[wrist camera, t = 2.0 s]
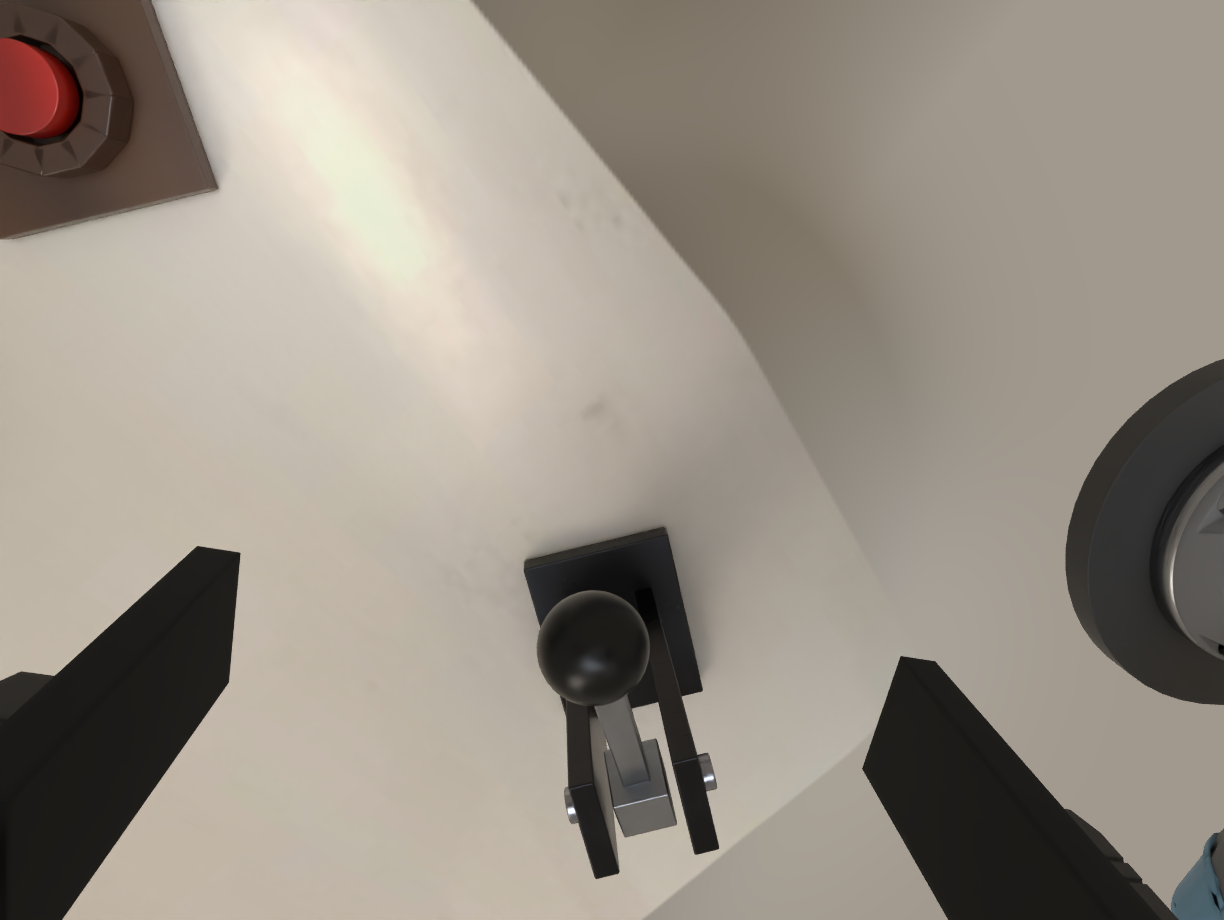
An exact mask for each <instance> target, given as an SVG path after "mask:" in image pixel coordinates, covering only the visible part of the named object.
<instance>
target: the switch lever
mask: <svg viewBox="0 0 1224 920" xmlns="http://www.w3.org/2000/svg"><path fill="white" fill-rule="evenodd" d="M649 653H650V643H649V636H648V632H647V629H646V626H645V624H644V622H643V620H642V618H641V616H640V615H639V613H638V612H637V611H636V610H635V609H634V608H633V607H632V606H631V605H630V604H629V603H628V602H627V601H625V600H624V599H622V598H621V597H619V596H617V595H614V594H612V593H609V592H605V591H595V590H591V591H583V592H579V593H576V594H573V595H571V596H569V597H566V598H565V599H563V600H562V601H560V602H559V603H558V604H557V605H556V606H555V607H554V608H553V609H552V610H551V611H550V612H549V614H548V615H547V616H546V618H545V620H544V622H543V624H542V626H541V628H540V631H539V635H538V641H537V657H538V663H539V666H540V669H541V672H542V674H543V676H544V677H545V679H546V681H547V683H548V684H549V685H550V686H551V687H552V689H553V690H554V691H555V692H557V693H558V694H559V695H560V696H562V697H563V698H565V699H567V700H568V701H570V702H573V703H576V704H579V705H583V706H594V707H595V709H596V712H597V715H598V718H599V720H600V723H601V726H602V729H603V731H604V734H605V737H606V740H607V742H608V745H609V748H610V750H606V751H604V757H605V764H606V770H607V776H608V782H609V788H610V794H611V800H612V806H613V809H614V812H615V814H616V817H617V819H618V822H619V824H620V827H621V829H622V832H623V834H624V836H625V837H630V836H634V835H638V834H642V833H646V832H650V831H654V830H658V829H662V828H667V827H671V826H675V825H677V820H676V816H675V811H674V807H673V802H672V798H671V793H670V789H669V784H668V780H667V775H666V771H665V767H664V764H663V760H662V757H661V753H660V749H659V746H658V742H657V740H656V739H651V740H647V741H643V742H641V738H640V735H639V732H638V729H637V725H636V722H635V719H634V716H633V712H632V709H631V706H630V703H629V699H628V696H627V694H628V693H630V692H631V691H632V690H633V689H634V688H635V687H636V685H637V684H638V683H639V681H640V680H641V678H642V676H643V674H644V672H645V670H646V667H647V664H648V660H649Z"/></svg>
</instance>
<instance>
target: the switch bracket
mask: <svg viewBox="0 0 1224 920" xmlns="http://www.w3.org/2000/svg"><path fill="white" fill-rule="evenodd" d="M524 573H525V577H526V580H527V583H528V587H529V590H530V594H531V597H532V601H533V604H534V608H535V611H536V615H537V618H538V621H539V625H540V628H541V626H542V624H543V622H544V620H545V618H546V616H547V615H548V614H549V612H550V611H551V610H552V609H553V608H554V607H555V606H556V605H557V604H558V603H559V602H560V601H562V600H563V599H565V598H566V597H569V596H571V595H573V594H576V593H579V592H583V591H591V590H595V591H605V592H609V593H612V594H614V595H617V596H619V597H621V598H622V599H624V600H625V601H627V602H628V603H629V604H630V605H631V606H632V607H633V608H634V609H635V610H636V611H637V612H638V613H639V615H640V616H641V618H642V620H643V622H644V624H645V626H646V629H647V632H648V636H649V643H650V653H649V660H648V664H647V667H646V670H645V672H644V674H643V676H642V678H641V680H640V681H639V683H638V684H637V685H636V687H635V688H634V689H633V690H632V691H631V692H630V693H628V694H627V696H628V699H629V703H630V706H631V709H632V708H636V707H640V706H644V705H648V704H652V703H656V702H659V707H660V711H661V716H662V721H663V725H664V730H665V734H666V739H667V743H668V748H669V752H670V757H671V761H672V766H673V770H674V774H675V778H676V782H677V786H678V790H679V794H680V798H681V802H682V806H683V810H684V814H685V818H686V822H687V826H688V830H689V834H690V838H691V842H692V846H693V850H694V854H695V855H697V854H701V853H705V852H710V851H714V850H718V849H719V844H718V840H717V836H716V832H715V827H714V823H713V819H712V815H711V810H710V806H709V802H708V798H707V793H706V791H710V790H714V789H717V784H716V779H715V775H714V771H713V767H712V763H711V760H710V756H709V754H708V753H704V754H700V755H697V752H696V748H695V745H694V741H693V737H692V734H691V730H690V726H689V723H688V719H687V715H686V712H685V708H684V704H683V700H682V697H681V696H685V695H689V694H693V693H697V692H701V691H703V688H702V683H701V679H700V675H699V670H698V666H697V661H696V657H695V653H694V648H693V644H692V639H691V635H690V631H689V626H688V622H687V617H686V613H685V609H684V604H683V600H682V595H681V591H680V587H679V582H678V578H677V573H676V569H675V565H674V560H673V556H672V551H671V547H670V543H669V538H668V534H667V532H666V529H665V528H664V527H663V528H659V529H655V530H651V531H647V532H643V533H638V534H634V535H630V536H626V537H622V538H618V539H614V540H610V541H606V542H601V543H597V544H593V545H589V546H585V547H581V548H577V549H573V550H569V551H564V552H560V553H556V554H552V555H548V556H544V557H540V558H536V559H532V560H527V561H525V562H524ZM560 698H561V701H562V704H563V708H564V711H565V715H566V723H567V760H568V787H565V789H564V797H565V804H566V809H567V814H568V817H569V820H570V822H571V824H575V823H579V827H580V830H581V833H582V837H583V840H584V843H585V847H586V850H587V853H588V857H589V860H590V864H591V867H592V870H593V874H594V877H595V878H596V879H598V878H603V877H607V876H611V875H615V874H618V873H619V862H618V852H617V842H616V833H615V823H614V813H613V806H612V800H611V794H610V788H609V782H608V776H607V770H606V764H605V757H604V751H606V750H607V745H606V737H605V734H604V731H603V729H602V726H601V723H600V720H599V718H598V715H597V712H596V709H595V707H594V706H583V705H579V704H576V703H573V702H570V701H568V700H567V699H565V698H563V697H562V696H560Z"/></svg>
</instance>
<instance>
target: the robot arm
mask: <svg viewBox="0 0 1224 920" xmlns="http://www.w3.org/2000/svg"><path fill="white" fill-rule="evenodd" d="M239 564H240V553H238V552H232V551H226V550H219V549H213V548H206V547H200V546H197V547H196V548H195V549H194V550H193V551H191V552H190V553H189V554H188V555H187V556H186V557H185V558H184V559H183V560H182V561H180V562H179V563H178V564H177V565H176V566H175V567H174V568H173V569H172V570H171V571H169V572H168V573H167V574H166V575H165V576H164V577H163V578H162V579H161V580H160V581H158V582H157V583H156V584H155V585H154V586H153V587H152V588H151V589H150V590H149V591H148V592H146V593H145V594H144V595H143V596H142V597H141V598H140V599H139V600H138V601H137V602H135V603H134V604H133V605H132V606H131V607H130V608H129V609H128V610H127V611H126V612H124V613H123V614H122V615H121V616H120V617H119V618H118V619H117V620H116V621H115V622H114V623H112V624H111V625H110V626H109V627H108V628H107V629H106V630H105V631H104V632H103V633H101V634H100V635H99V636H98V637H97V638H96V639H95V640H94V641H93V642H92V643H90V644H89V645H88V646H87V647H86V648H85V649H84V650H83V651H82V652H81V653H80V654H78V655H77V656H76V657H75V658H74V659H73V660H72V661H71V662H70V663H69V664H67V665H66V666H65V667H64V668H63V669H62V670H61V671H60V672H59V673H58V674H56V675H55V676H51V675H43V674H36V673H28V672H19V673H17V674H15V675H12V676H10V677H8V678H6V679H3V680H1V681H0V920H62V919H63V918H64V916H65V915H66V913H67V912H68V911H69V909H70V908H71V906H72V905H73V903H74V902H75V901H76V899H77V898H78V896H79V895H80V893H81V892H82V891H83V889H84V888H85V886H86V885H87V883H88V882H89V881H90V879H91V878H92V876H93V875H94V874H95V872H96V871H97V869H98V868H99V866H100V865H101V864H102V862H103V861H104V859H105V858H106V856H107V855H108V854H109V852H110V851H111V849H112V848H113V846H114V845H115V844H116V842H117V841H118V839H119V838H120V837H121V835H122V834H123V832H124V831H125V829H126V828H127V827H128V825H129V824H130V822H131V821H132V819H133V818H134V817H135V815H136V814H137V812H138V811H139V810H140V808H141V807H142V805H143V804H144V802H145V801H146V800H147V798H148V797H149V795H150V794H151V792H152V791H153V790H154V788H155V787H156V785H157V784H158V782H159V781H160V780H161V778H162V777H163V775H164V774H165V773H166V771H167V770H168V768H169V767H170V765H171V764H172V763H173V761H174V760H175V758H176V757H177V755H178V754H179V753H180V751H181V750H182V748H183V747H184V745H185V744H186V743H187V741H188V740H189V738H190V737H191V736H192V734H193V733H194V731H195V730H196V728H197V727H198V726H199V724H200V723H201V721H202V720H203V718H204V717H205V716H206V714H207V713H208V711H209V710H210V708H211V707H212V706H213V704H214V703H215V701H216V700H217V699H218V697H219V696H220V694H221V693H222V691H223V690H224V689H225V687H226V686H227V684H228V683H229V675H230V664H231V653H232V642H233V630H234V619H235V608H236V597H237V586H238V575H239ZM1150 579H1151V585H1152V590H1153V594H1154V597H1155V600H1156V602H1157V605H1158V607H1159V609H1160V611H1161V612H1162V614H1163V616H1164V617H1165V619H1166V620H1167V621H1168V622H1169V624H1170V625H1171V626H1172V627H1173V628H1174V629H1175V630H1176V631H1177V632H1178V633H1180V634H1181V635H1182V636H1184V637H1185V638H1187V639H1188V640H1190V641H1191V642H1193V643H1194V644H1196V645H1197V646H1199V647H1200V648H1202V649H1203V650H1205V651H1206V652H1208V653H1210V654H1212V655H1213V656H1215V657H1217V658H1219V659H1222V660H1224V446H1222V447H1221V448H1219V449H1218V450H1216V451H1215V452H1214V453H1212V454H1211V455H1210V456H1209V457H1207V458H1206V459H1205V460H1204V461H1203V462H1201V463H1200V464H1199V465H1198V466H1197V467H1196V468H1195V469H1194V470H1193V471H1192V472H1191V473H1190V475H1189V476H1188V477H1187V478H1186V479H1185V480H1184V481H1183V483H1182V484H1181V485H1180V487H1179V488H1178V489H1177V491H1176V492H1175V493H1174V495H1173V497H1172V498H1171V500H1170V501H1169V503H1168V505H1167V507H1166V509H1165V510H1164V512H1163V514H1162V517H1161V519H1160V521H1159V524H1158V526H1157V529H1156V532H1155V536H1154V539H1153V544H1152V548H1151V556H1150ZM862 769H863V771H864V773H865V774H866V776H867V778H868V780H869V781H870V783H871V785H872V787H873V789H874V790H875V792H876V794H877V796H878V797H879V799H880V801H881V803H882V804H883V806H884V808H885V810H886V811H887V813H888V815H889V817H890V818H891V820H892V822H893V824H894V825H895V827H896V829H897V831H898V832H899V834H900V836H901V838H902V839H903V841H904V843H905V845H906V846H907V848H908V850H909V852H910V853H911V855H912V857H913V859H914V860H915V862H916V864H917V866H918V867H919V869H920V871H921V873H922V875H923V876H924V878H925V880H926V881H927V883H928V885H929V887H930V888H931V890H932V892H933V894H934V895H935V897H936V899H937V901H938V903H939V904H940V906H941V908H942V909H943V911H944V913H945V915H946V917H947V918H948V920H1224V829H1223V830H1222V831H1221V832H1220V833H1214V834H1213V835H1212V836H1211V837H1210V838H1209V839H1208V840H1207V842H1206V844H1205V846H1204V851H1203V855H1202V856H1201V858H1200V859H1199V860H1198V861H1197V862H1196V864H1195V865H1194V866H1193V867H1192V869H1191V870H1190V871H1189V872H1188V874H1187V875H1186V876H1185V877H1184V879H1183V880H1182V881H1181V882H1180V884H1179V885H1178V886H1177V888H1176V890H1175V892H1174V894H1173V897H1172V903H1171V910H1172V912H1171V911H1170V910H1169V908H1168V907H1167V906H1166V905H1165V904H1164V903H1163V902H1162V901H1161V899H1160V898H1159V897H1158V896H1157V895H1156V894H1155V893H1154V892H1153V891H1152V889H1151V888H1149V886H1148V885H1146V884H1143V883H1142V878H1141V877H1140V876H1139V875H1138V874H1137V873H1136V872H1135V871H1134V869H1133V868H1132V867H1131V866H1130V865H1129V864H1128V863H1124V862H1123V857H1122V856H1121V855H1120V854H1119V853H1118V852H1117V851H1116V850H1115V848H1114V847H1113V846H1112V845H1111V844H1110V843H1109V842H1108V841H1107V840H1106V838H1105V837H1104V836H1103V835H1102V834H1101V833H1100V832H1099V831H1097V830H1096V829H1095V828H1093V827H1092V826H1091V825H1089V824H1088V823H1087V822H1086V821H1084V820H1083V819H1082V818H1080V817H1079V816H1078V815H1076V814H1075V813H1074V812H1072V811H1071V810H1068V809H1064V808H1063V807H1062V806H1061V805H1060V803H1059V802H1058V801H1057V800H1056V799H1055V798H1054V797H1053V795H1052V794H1051V793H1050V792H1049V791H1048V790H1047V789H1046V788H1045V786H1044V785H1043V784H1042V783H1041V782H1040V781H1039V780H1038V778H1037V777H1036V776H1035V775H1034V774H1033V773H1032V771H1031V770H1030V769H1029V768H1028V767H1027V766H1026V765H1025V763H1024V762H1023V761H1022V760H1021V759H1020V758H1019V757H1018V755H1017V754H1016V753H1015V752H1014V751H1013V750H1012V749H1011V747H1010V746H1009V745H1008V744H1007V743H1006V742H1005V741H1004V740H1003V738H1002V737H1001V736H1000V735H999V734H998V733H997V731H996V730H995V729H994V728H993V727H992V726H991V725H990V724H989V722H988V721H987V720H986V719H985V718H984V717H983V716H982V714H981V713H980V712H979V711H978V710H977V709H976V708H975V707H974V705H973V704H972V703H971V702H970V701H969V700H968V698H967V697H966V696H965V695H964V694H963V693H962V692H961V690H960V689H959V688H958V687H957V686H956V685H955V684H954V682H953V681H952V680H951V679H950V678H949V677H948V676H947V674H946V673H945V672H944V671H943V670H942V669H941V668H940V666H939V665H938V664H937V663H936V662H935V661H929V660H923V659H916V658H910V657H903V656H901V657H900V660H899V663H898V666H897V668H896V671H895V674H894V677H893V680H892V683H891V686H890V689H889V692H888V695H887V698H886V701H885V704H884V707H883V709H882V712H881V715H880V718H879V721H878V724H877V727H876V730H875V733H874V736H873V739H872V742H871V745H870V748H869V751H868V753H867V756H866V759H865V762H864V765H863V768H862Z"/></svg>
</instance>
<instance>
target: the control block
mask: <svg viewBox="0 0 1224 920" xmlns="http://www.w3.org/2000/svg"><path fill="white" fill-rule="evenodd" d="M0 38H10V39H14V40H18V41H21V42H24V43H27V44H30V45H32V46H35V47H38V48H41V49H44V50H46V51H48V52H50V53H51V54H53V55H54V56H56V57H57V58H58V59H59V60H60V61H62V63H63V64H64V65H65V66H66V67H67V68H68V70H69V71H70V73H71V74H72V76H73V78H74V80H75V82H76V85H77V88H78V92H79V100H80V102H79V111H78V114H77V117H76V119H75V121H74V123H73V124H72V125H71V127H70V128H69V129H68V130H66V131H65V132H64V133H62V134H60V135H58V136H55V137H52V138H33V137H27V136H21V135H15V134H11V133H7V132H4V131H2V130H0V239H15V238H19V237H23V236H27V235H31V234H36V233H40V232H44V231H48V230H52V229H56V228H60V227H65V226H69V225H73V224H77V223H81V222H85V221H89V220H93V219H98V218H102V217H106V216H110V215H114V214H118V213H122V212H126V211H131V210H135V209H139V208H143V207H147V206H151V205H155V204H160V203H164V202H168V201H172V200H176V199H180V198H184V197H188V196H193V195H197V194H201V193H205V192H209V191H213V190H217V189H218V188H217V185H216V182H215V179H214V176H213V174H212V171H211V168H210V165H209V162H208V160H207V157H206V154H205V151H204V149H203V146H202V143H201V140H200V137H199V135H198V132H197V129H196V126H195V123H194V121H193V118H192V115H191V112H190V110H189V107H188V104H187V101H186V98H185V96H184V93H183V90H182V87H181V84H180V82H179V79H178V76H177V73H176V70H175V68H174V65H173V62H172V59H171V57H170V54H169V51H168V48H167V45H166V43H165V40H164V37H163V34H162V31H161V29H160V26H159V23H158V20H157V17H156V15H155V12H154V9H153V6H152V4H151V1H150V0H0Z"/></svg>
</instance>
